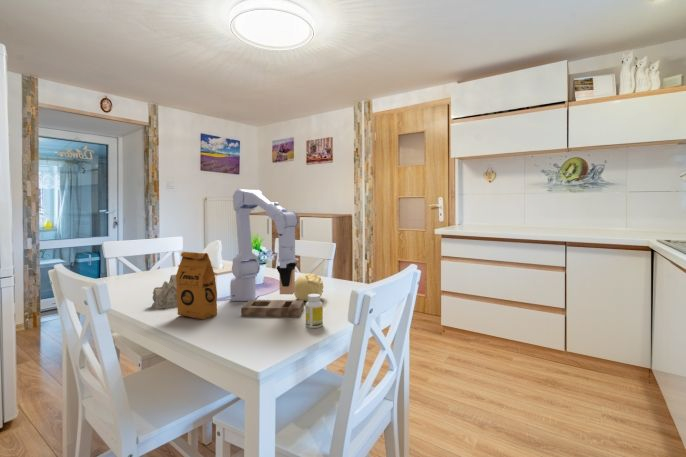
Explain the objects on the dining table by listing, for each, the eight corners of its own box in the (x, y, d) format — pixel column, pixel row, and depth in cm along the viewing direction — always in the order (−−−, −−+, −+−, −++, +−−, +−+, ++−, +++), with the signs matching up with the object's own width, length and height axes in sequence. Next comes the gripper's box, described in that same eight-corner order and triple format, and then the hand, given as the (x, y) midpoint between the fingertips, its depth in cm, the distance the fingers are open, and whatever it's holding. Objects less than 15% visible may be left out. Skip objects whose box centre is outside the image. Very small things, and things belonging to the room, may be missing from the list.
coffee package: (200, 322, 115) (198, 255, 113) (172, 317, 120) (170, 252, 118) (222, 313, 124) (221, 251, 122) (196, 309, 129) (194, 249, 127)
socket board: (241, 316, 121) (241, 307, 121) (249, 307, 131) (249, 299, 131) (299, 317, 120) (299, 308, 120) (303, 308, 130) (303, 300, 130)
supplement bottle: (325, 323, 114) (325, 293, 113) (318, 329, 109) (318, 298, 108) (309, 321, 116) (309, 292, 115) (302, 327, 111) (302, 296, 110)
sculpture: (322, 303, 137) (322, 276, 136) (291, 303, 137) (291, 276, 136) (324, 296, 148) (324, 270, 147) (295, 295, 148) (295, 270, 147)
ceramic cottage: (191, 294, 150) (188, 259, 148) (199, 305, 136) (196, 267, 134) (149, 302, 141) (145, 265, 139) (154, 314, 128) (149, 274, 125)
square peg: (279, 294, 123) (279, 271, 123) (282, 291, 128) (282, 269, 127) (292, 294, 123) (292, 271, 122) (294, 291, 128) (294, 269, 127)
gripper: (294, 249, 117) (294, 289, 118) (301, 244, 131) (301, 280, 132) (273, 249, 117) (273, 289, 118) (282, 244, 132) (282, 280, 132)
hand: (287, 284), depth 125 cm, fingers closed on square peg, 4 cm apart
